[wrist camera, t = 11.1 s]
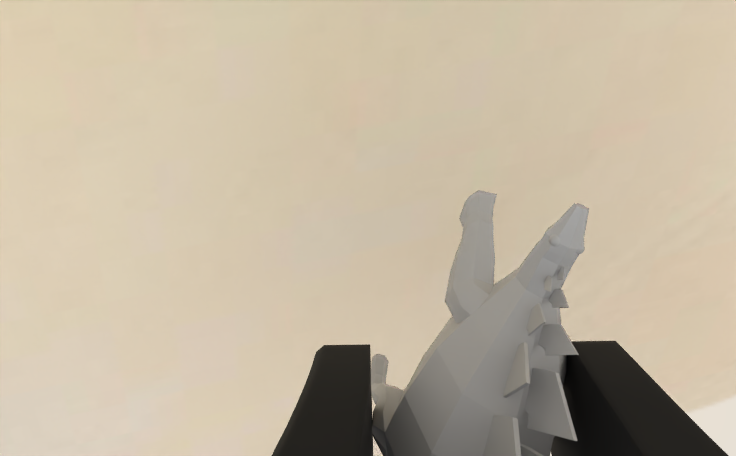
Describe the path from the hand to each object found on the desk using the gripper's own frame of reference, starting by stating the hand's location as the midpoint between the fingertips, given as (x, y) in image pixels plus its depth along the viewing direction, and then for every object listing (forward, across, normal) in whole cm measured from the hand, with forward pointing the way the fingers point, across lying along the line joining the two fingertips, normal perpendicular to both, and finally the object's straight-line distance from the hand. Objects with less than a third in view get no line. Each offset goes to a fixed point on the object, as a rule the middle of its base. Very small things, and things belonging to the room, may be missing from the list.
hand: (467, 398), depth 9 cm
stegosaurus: (+2, 0, 0) cm, 2 cm away
